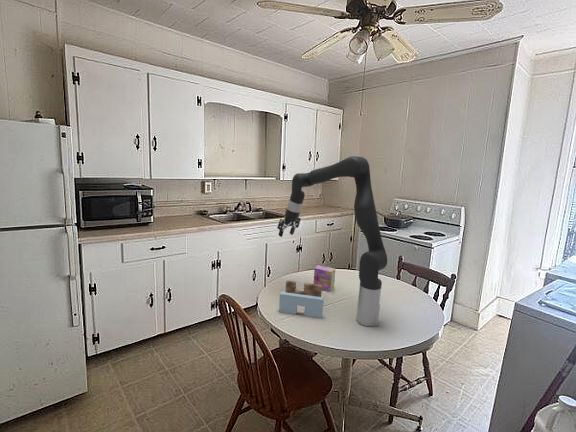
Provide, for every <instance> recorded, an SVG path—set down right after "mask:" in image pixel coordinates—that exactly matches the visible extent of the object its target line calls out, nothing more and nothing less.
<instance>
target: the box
mask: <svg viewBox="0 0 576 432" xmlns="http://www.w3.org/2000/svg"><path fill="white" fill-rule="evenodd" d="M313 269H314V271H313V272H314V273H313V284H318V285H322V291H326V292H330V293H332V291H333V290H334V289H335V281H336V280H335V279H336V278H335V277H336V268H334V267H333V268H332V267H327V266H324V265H319V264H317V265H316V266H315V267H314V268H313Z"/></svg>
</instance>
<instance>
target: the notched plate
mask: <svg viewBox="0 0 576 432" xmlns="http://www.w3.org/2000/svg"><path fill="white" fill-rule="evenodd" d="M324 301H325V300H324V297H322V296H321V297H316V296H309V295H301V294H294V293H287V292H286V291H281V292H280V293H279V303H278V304H279V305H278V306H279V309H278V313H284V314H290V315H297V313H298V312H297V311H298V306H299V307H304V317H311V318H317V319H322V318H323V311H324V309H323V308H324Z"/></svg>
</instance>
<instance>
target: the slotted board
mask: <svg viewBox="0 0 576 432" xmlns="http://www.w3.org/2000/svg"><path fill="white" fill-rule="evenodd" d="M296 287H297V282H296V281H293V280H286V281H285V292H287V293H294V294H301V295H309V296H316V297H322V291H323V290H322V285H318V284H314V283H309V282H305V283H304V285H303V290H299V289H296Z"/></svg>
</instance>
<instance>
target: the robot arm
mask: <svg viewBox="0 0 576 432" xmlns="http://www.w3.org/2000/svg"><path fill="white" fill-rule="evenodd" d="M370 169H371V168H370V164H369V161H368V160H367V159H366V158H365V157H363V156H358V155H357V156H356V155H353V156H349V157H347V158H344V159H342V160H340V161H338V162H335V163H334V164H331V165H328V166H327V165H326V166H324V167H319V168H316V169H313V170H311V171H310V172H301V173H300V172H298V173H296V174H294V176H293V177H292V180H291V194H290V198H289V200H288V203H287V206H286V210H285V212H284V216H285V217H284V218H283V219H282V218H280V219H279V220H278V221H279V222H278V224H277V227H276V229H277V230H278V231H279V232H278V236H279V237H280V238H281V237H283V234H284V232H285V230H286V229H288V227H290V231H289V234H290V235H291V236H293V235H294V233H295V231H296V229H298V228H299V226H300V224H301V219H302V218H300V214H301V211H302V207H303V203H304V200H305V195H306V193H305V192H304V191H303V190H302V189H303V188H307V187H312V186H314V185H318V184H322V183H327V182H329V181H331V180H333V179H336V178H345V177H346V178H347V177H350V178H353V179H354V183H355V187H356V190H355V191H356V192H355V197H354V203H353V211H354V215H355V221H356V224H357V226H358V227H359V230H360V231H361V232H362V233H363V235H364V237H365V239H366V244H367V248H368V250H367V251H365V252H363V254H361V256H360V259H359V264H358V265H359V266H358V269H359V270H358V279H359V289H358V301H357V306H356V307H357V308H356V322H357V323H358V324H360V325H362V326H365V327H378V323H379V317H380V316H379V315H380V308H381V306H380V305H381V304H380V300H381V292H382V284H383V283H382V280H381V278H379V271H381V270H384V269H385V268H386V267H387V265H388V256H387V251H386V249H385V246H384V242H383V239H382V235H381V229H380V225H379V220H378V214H377V213H378V212H377V208H376V204H375V199H374V194H373V190H372V189H373V188H372V181H371V170H370Z"/></svg>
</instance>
